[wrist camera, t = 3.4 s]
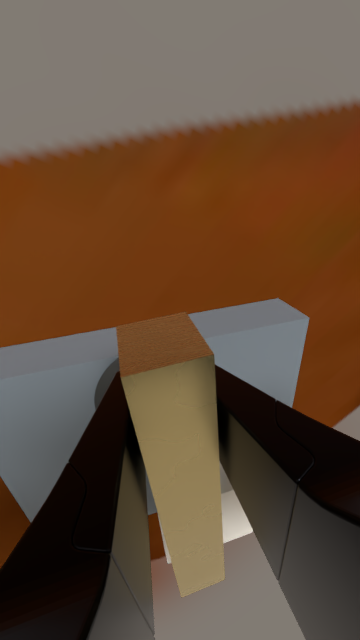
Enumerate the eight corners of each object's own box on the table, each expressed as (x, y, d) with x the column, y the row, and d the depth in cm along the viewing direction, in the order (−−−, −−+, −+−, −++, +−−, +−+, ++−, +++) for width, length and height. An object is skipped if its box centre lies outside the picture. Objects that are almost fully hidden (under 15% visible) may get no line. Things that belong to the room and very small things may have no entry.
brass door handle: (191, 272, 9) (265, 341, 5) (207, 457, 15) (250, 568, 10) (79, 292, 9) (56, 393, 4) (137, 480, 14) (153, 609, 10)
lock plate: (278, 293, 14) (311, 312, 12) (260, 441, 20) (280, 473, 18) (-29, 346, 11) (-62, 386, 9) (54, 502, 17) (47, 550, 15)
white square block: (235, 436, 15) (259, 481, 12) (232, 487, 17) (252, 532, 15) (148, 461, 14) (158, 514, 11) (158, 511, 16) (167, 563, 14)
